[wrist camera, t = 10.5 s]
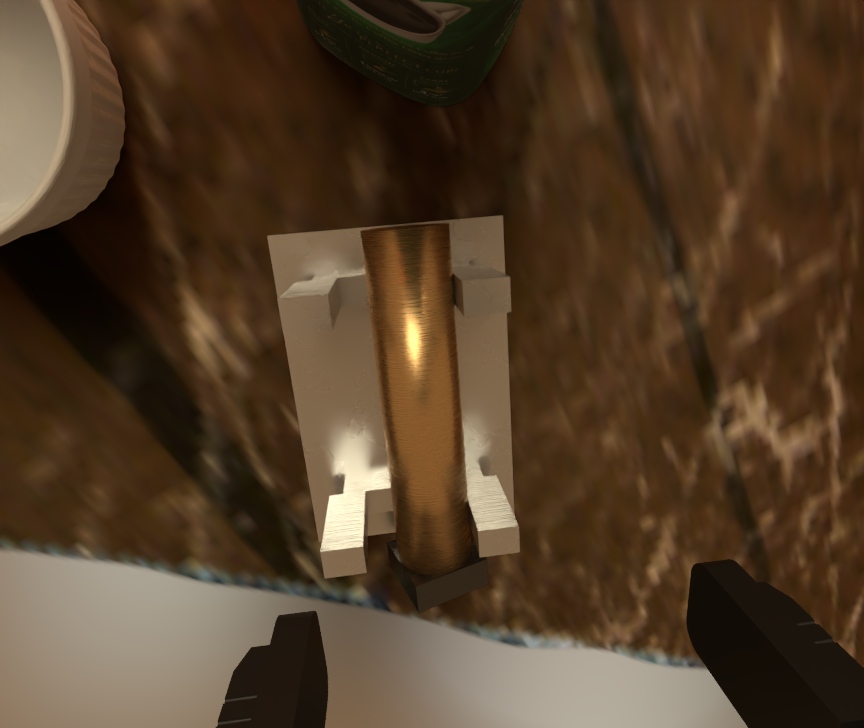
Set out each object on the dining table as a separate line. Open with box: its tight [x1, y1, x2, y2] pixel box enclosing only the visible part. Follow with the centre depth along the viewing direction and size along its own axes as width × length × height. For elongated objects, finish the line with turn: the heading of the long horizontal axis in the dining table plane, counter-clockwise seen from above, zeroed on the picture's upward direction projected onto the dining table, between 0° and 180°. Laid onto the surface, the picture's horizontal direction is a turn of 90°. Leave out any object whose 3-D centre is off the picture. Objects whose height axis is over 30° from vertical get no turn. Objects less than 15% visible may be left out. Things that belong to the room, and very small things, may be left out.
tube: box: [360, 223, 488, 613], centre depth 26 cm, size 19×4×4 cm, turn 5°
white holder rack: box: [267, 215, 520, 578], centre depth 26 cm, size 18×12×7 cm, turn 5°
